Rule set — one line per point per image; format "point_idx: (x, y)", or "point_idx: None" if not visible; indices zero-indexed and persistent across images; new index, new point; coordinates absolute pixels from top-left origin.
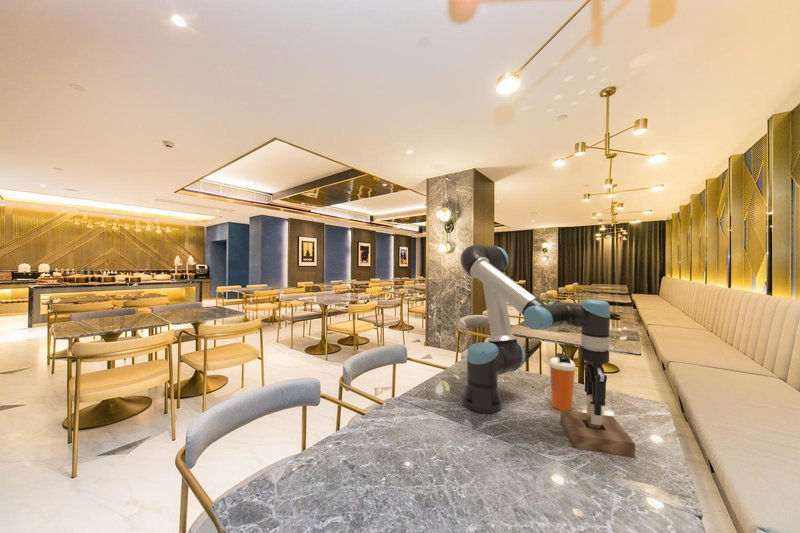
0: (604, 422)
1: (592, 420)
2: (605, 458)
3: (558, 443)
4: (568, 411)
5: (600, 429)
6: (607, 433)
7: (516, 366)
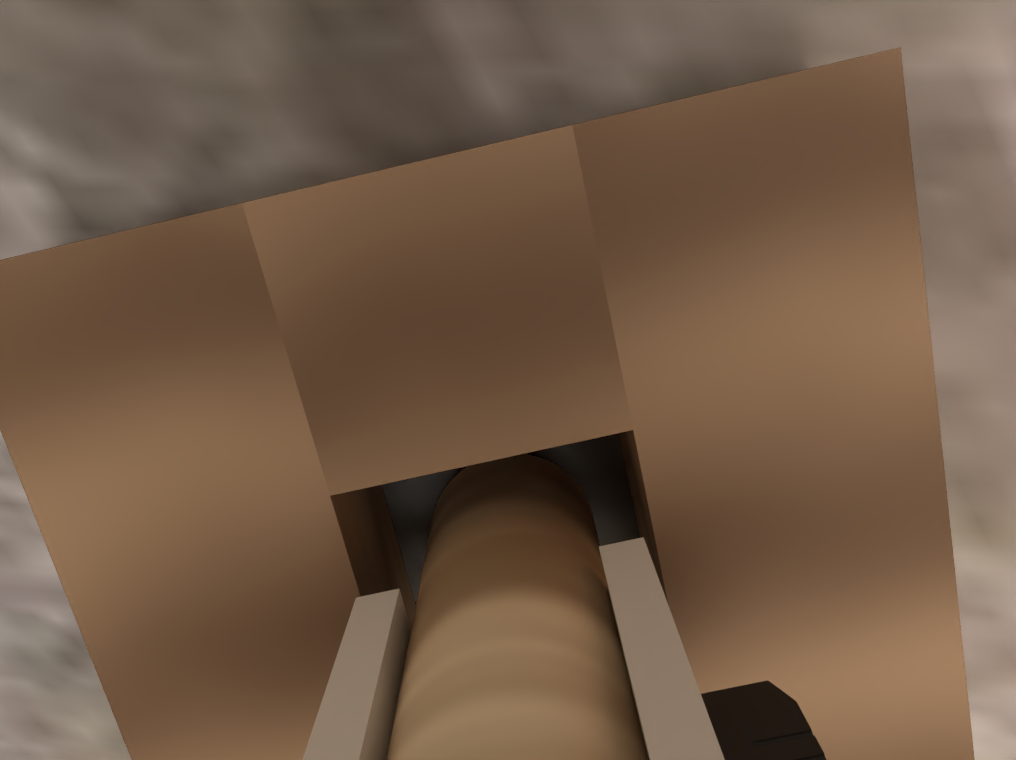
0: None
1: (346, 644)
2: (51, 593)
3: (43, 52)
4: (879, 205)
5: None
6: None
7: None
